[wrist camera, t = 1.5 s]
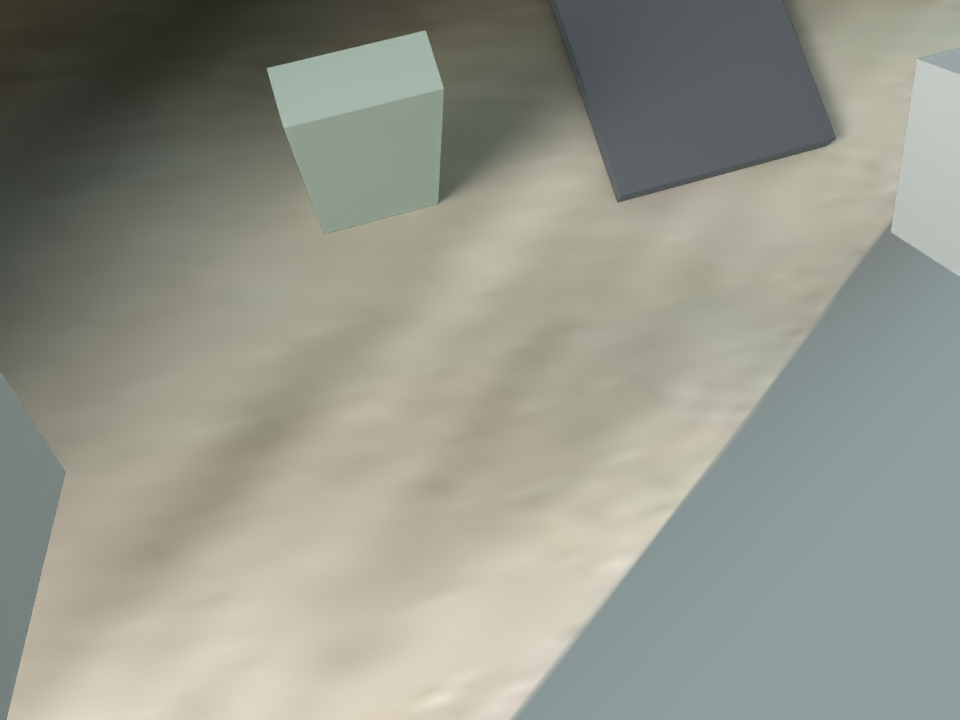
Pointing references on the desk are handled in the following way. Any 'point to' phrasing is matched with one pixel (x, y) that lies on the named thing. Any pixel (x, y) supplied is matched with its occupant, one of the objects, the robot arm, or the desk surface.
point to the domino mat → (690, 87)
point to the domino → (365, 128)
